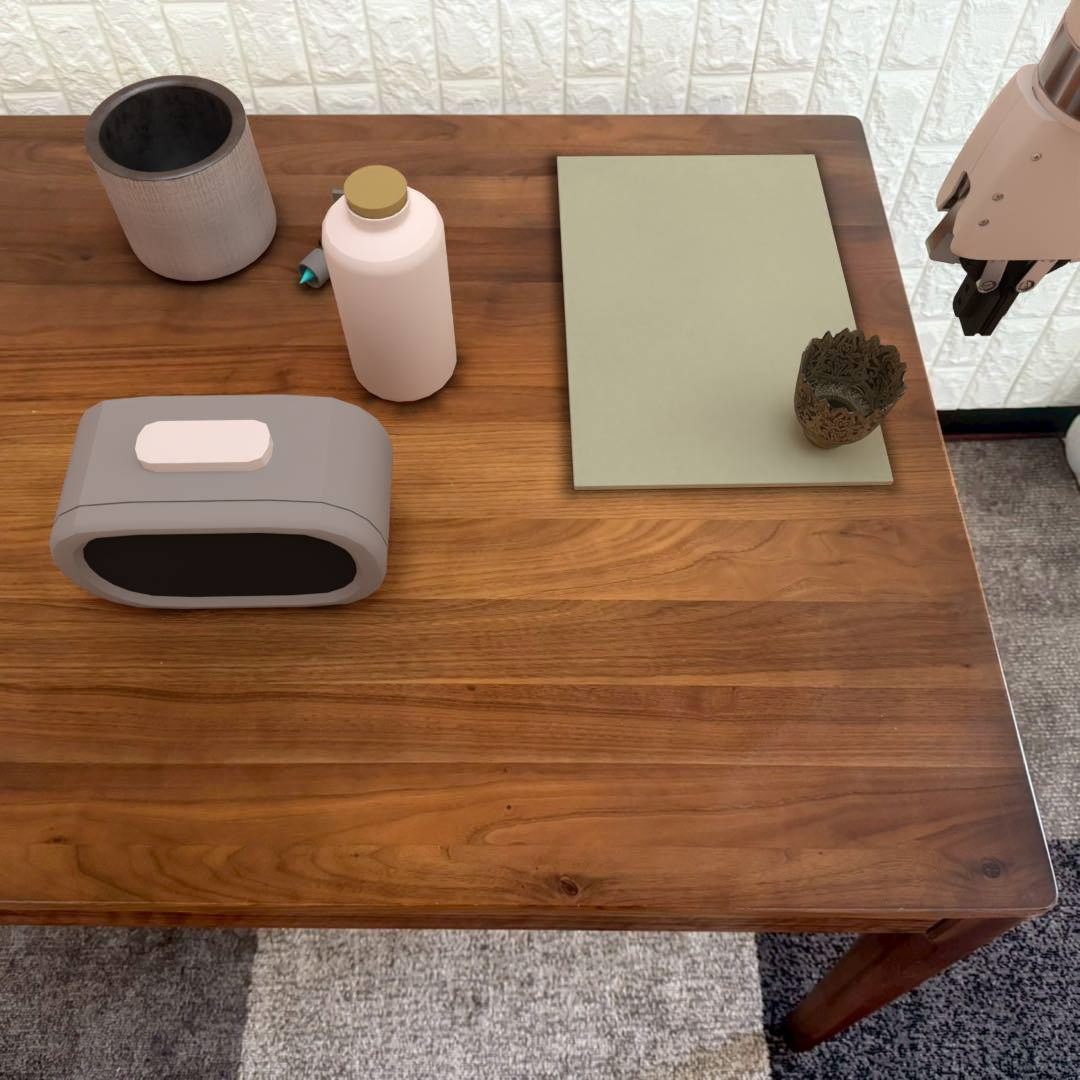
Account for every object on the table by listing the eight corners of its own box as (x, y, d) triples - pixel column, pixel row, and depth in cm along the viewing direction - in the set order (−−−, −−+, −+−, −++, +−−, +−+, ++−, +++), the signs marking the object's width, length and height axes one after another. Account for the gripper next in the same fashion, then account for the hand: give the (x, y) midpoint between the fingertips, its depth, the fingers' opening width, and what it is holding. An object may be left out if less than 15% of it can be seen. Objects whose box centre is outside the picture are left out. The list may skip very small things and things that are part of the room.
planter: (112, 218, 85) (58, 107, 75) (243, 166, 88) (207, 54, 78) (167, 309, 80) (116, 203, 70) (303, 250, 83) (273, 141, 73)
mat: (891, 485, 72) (894, 481, 72) (573, 490, 72) (574, 486, 71) (812, 159, 90) (814, 154, 89) (556, 161, 89) (556, 156, 89)
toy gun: (287, 286, 81) (274, 243, 77) (374, 203, 86) (366, 158, 82) (378, 335, 79) (370, 293, 75) (462, 246, 84) (459, 202, 79)
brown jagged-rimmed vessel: (779, 388, 76) (805, 319, 69) (873, 402, 75) (909, 334, 68) (772, 465, 72) (799, 401, 65) (871, 481, 72) (908, 418, 65)
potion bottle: (431, 421, 75) (405, 248, 59) (335, 388, 76) (286, 211, 60) (474, 344, 78) (461, 162, 63) (382, 315, 80) (347, 129, 64)
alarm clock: (98, 618, 66) (6, 520, 54) (123, 500, 71) (43, 387, 59) (397, 612, 67) (369, 515, 55) (403, 496, 71) (379, 383, 60)
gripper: (1243, 20, 49) (1066, 276, 65) (956, 21, 49) (849, 278, 65) (1302, 118, 46) (1099, 363, 62) (992, 121, 45) (869, 366, 62)
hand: (971, 319), depth 63 cm, fingers closed
